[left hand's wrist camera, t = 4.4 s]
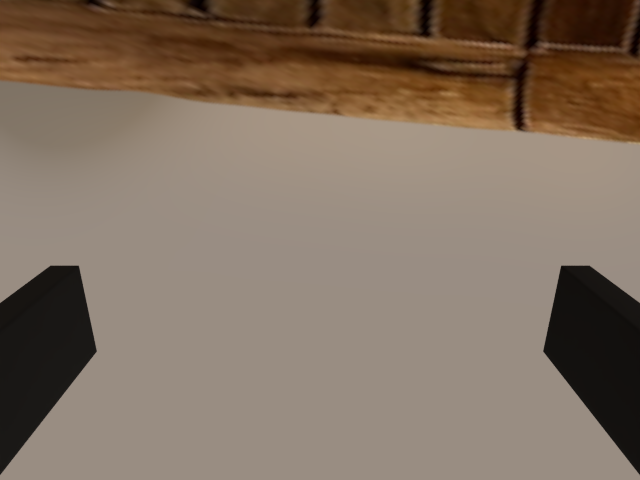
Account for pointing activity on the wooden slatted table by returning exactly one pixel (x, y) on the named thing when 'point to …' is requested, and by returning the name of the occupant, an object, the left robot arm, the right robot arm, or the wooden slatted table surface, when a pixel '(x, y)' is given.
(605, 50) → the wooden slatted table surface
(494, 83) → the wooden slatted table surface
